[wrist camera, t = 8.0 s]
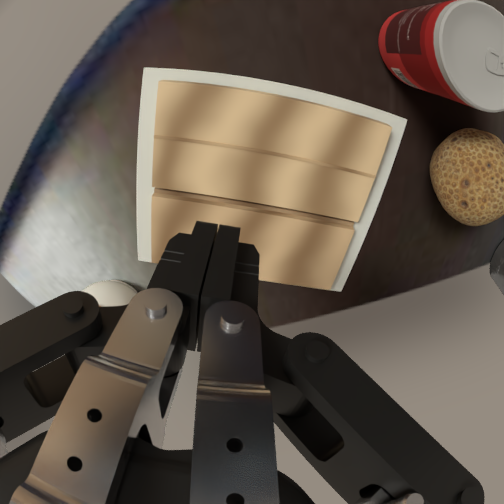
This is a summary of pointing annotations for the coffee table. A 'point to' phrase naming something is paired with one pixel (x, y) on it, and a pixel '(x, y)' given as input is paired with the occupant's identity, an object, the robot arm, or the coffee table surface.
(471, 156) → the natural sponge
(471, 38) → the canned food
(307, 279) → the laid plank
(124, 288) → the lidded jar
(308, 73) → the coffee table surface
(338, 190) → the loose plank
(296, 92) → the underlay mat
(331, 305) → the coffee table surface
